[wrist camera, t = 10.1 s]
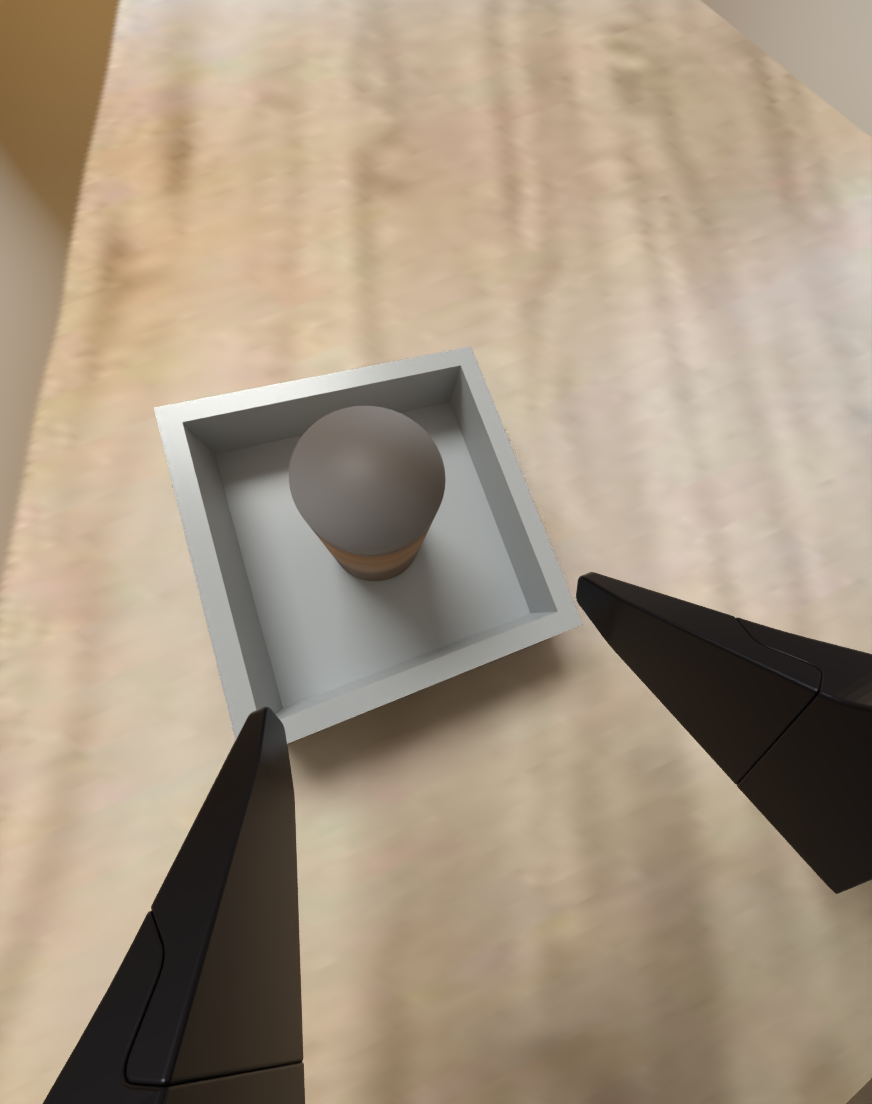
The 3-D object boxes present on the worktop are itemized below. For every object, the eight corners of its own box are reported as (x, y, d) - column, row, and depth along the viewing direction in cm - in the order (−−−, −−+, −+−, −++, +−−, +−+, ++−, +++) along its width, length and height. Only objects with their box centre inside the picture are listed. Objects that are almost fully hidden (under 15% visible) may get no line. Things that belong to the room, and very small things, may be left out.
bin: (545, 623, 21) (583, 624, 17) (272, 731, 18) (241, 762, 14) (456, 392, 23) (471, 346, 19) (198, 449, 20) (153, 407, 16)
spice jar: (413, 587, 19) (435, 561, 11) (322, 574, 19) (272, 536, 10) (425, 503, 20) (454, 421, 12) (339, 488, 20) (307, 391, 11)
